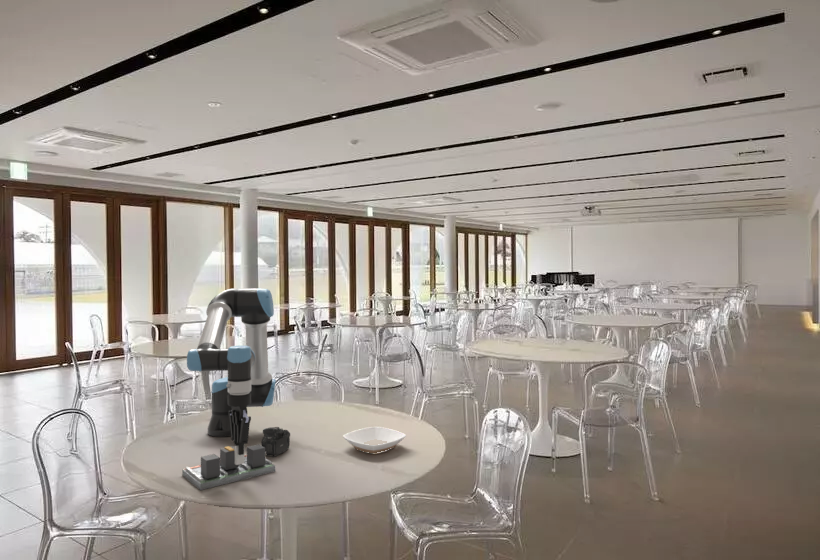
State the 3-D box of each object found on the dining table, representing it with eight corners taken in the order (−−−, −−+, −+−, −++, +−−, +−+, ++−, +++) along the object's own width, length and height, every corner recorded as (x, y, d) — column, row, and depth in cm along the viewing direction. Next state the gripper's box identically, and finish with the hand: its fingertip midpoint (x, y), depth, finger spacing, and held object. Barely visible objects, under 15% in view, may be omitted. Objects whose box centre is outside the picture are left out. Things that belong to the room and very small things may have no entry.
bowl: (335, 448, 218) (335, 435, 218) (375, 436, 234) (375, 424, 234) (373, 462, 204) (373, 447, 203) (413, 448, 219) (413, 435, 219)
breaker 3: (246, 463, 194) (246, 446, 194) (258, 461, 197) (258, 444, 197) (253, 467, 190) (253, 450, 190) (265, 464, 193) (265, 447, 193)
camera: (265, 447, 220) (265, 422, 220) (291, 446, 221) (291, 421, 221) (258, 458, 207) (258, 431, 207) (285, 457, 208) (285, 431, 207)
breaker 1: (200, 474, 184) (200, 456, 184) (214, 471, 187) (214, 453, 187) (206, 479, 180) (206, 460, 180) (220, 475, 183) (220, 457, 183)
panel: (182, 475, 190) (182, 466, 190) (254, 458, 206) (254, 450, 206) (200, 490, 177) (200, 480, 177) (275, 471, 193) (275, 462, 193)
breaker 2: (220, 466, 192) (220, 447, 192) (232, 463, 195) (232, 445, 195) (225, 470, 188) (225, 451, 188) (238, 467, 191) (238, 448, 191)
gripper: (220, 391, 187) (220, 461, 187) (236, 397, 177) (236, 471, 177) (242, 388, 192) (242, 456, 192) (258, 394, 182) (258, 466, 182)
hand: (239, 463), depth 185 cm, fingers closed
